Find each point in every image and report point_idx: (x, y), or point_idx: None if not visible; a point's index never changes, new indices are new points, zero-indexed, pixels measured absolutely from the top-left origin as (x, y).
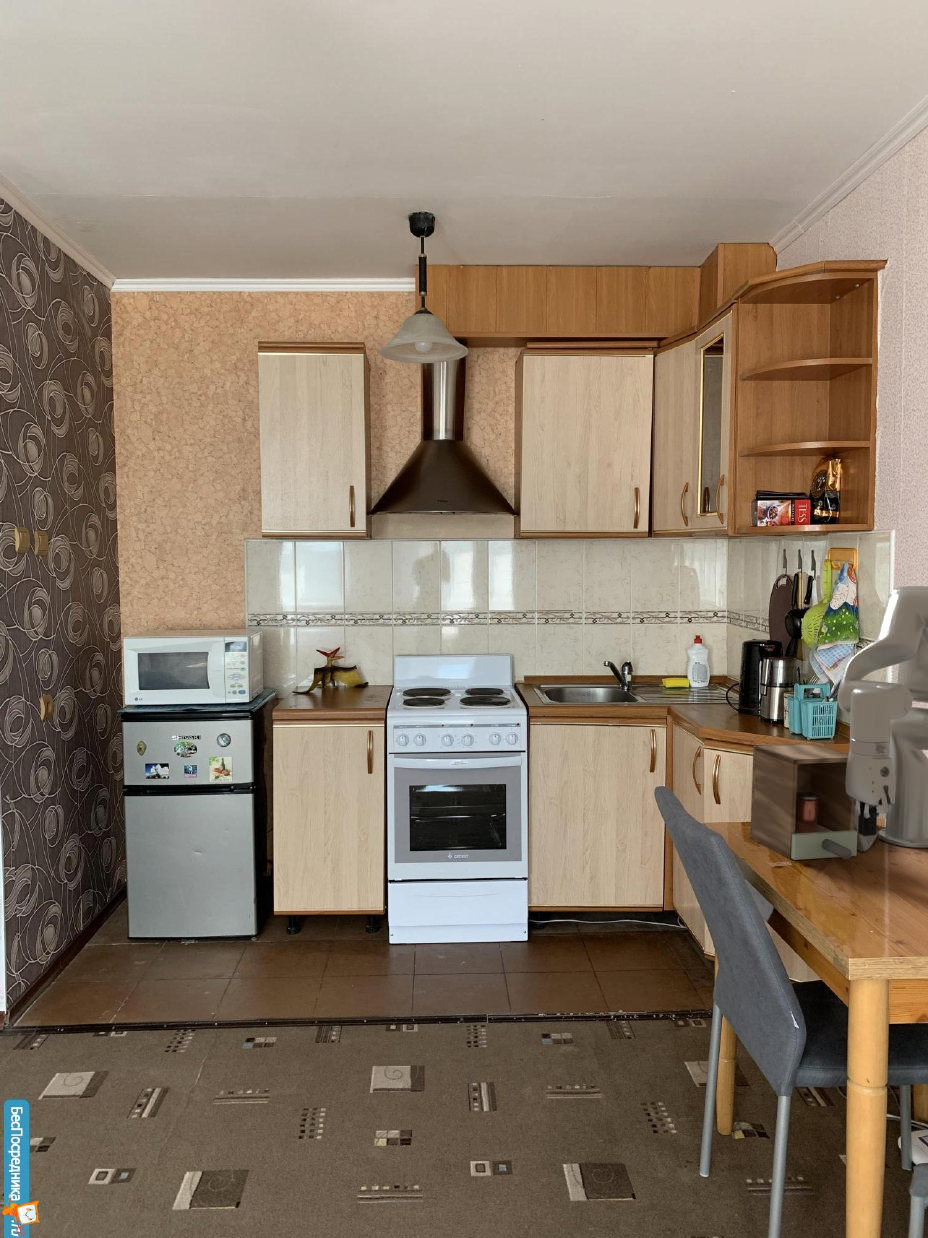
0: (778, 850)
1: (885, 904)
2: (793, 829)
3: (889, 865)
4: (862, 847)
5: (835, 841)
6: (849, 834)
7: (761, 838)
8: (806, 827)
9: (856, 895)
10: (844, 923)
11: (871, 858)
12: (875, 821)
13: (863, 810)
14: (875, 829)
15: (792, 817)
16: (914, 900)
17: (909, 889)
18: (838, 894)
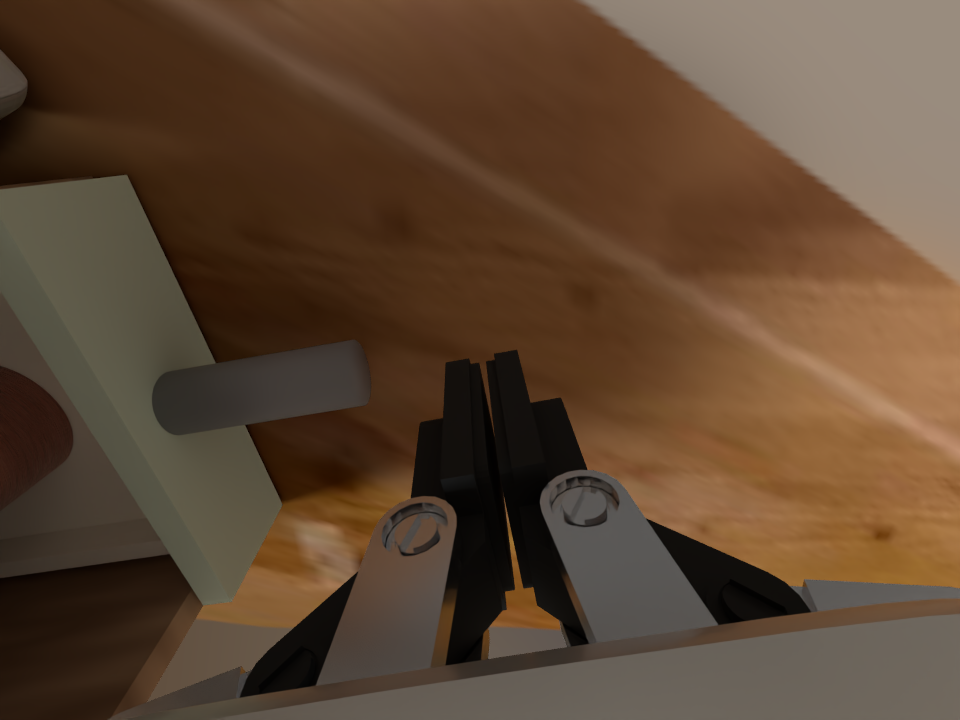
0: None
1: (844, 387)
2: (179, 620)
3: (274, 29)
4: (12, 97)
5: (138, 354)
6: (46, 263)
7: None
8: (1, 490)
9: (719, 447)
10: (932, 582)
11: (138, 83)
12: (584, 462)
13: (477, 630)
14: (562, 404)
15: (140, 704)
16: (852, 230)
17: (707, 161)
18: (692, 501)
